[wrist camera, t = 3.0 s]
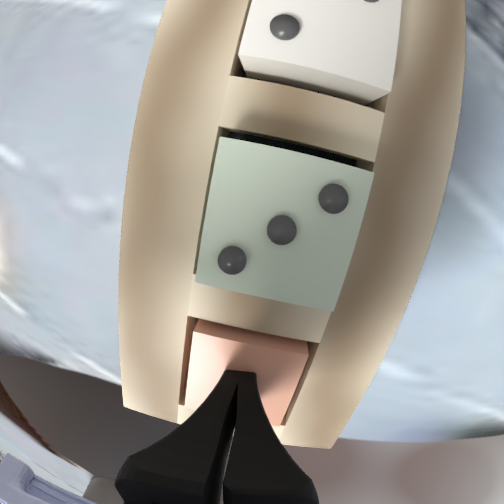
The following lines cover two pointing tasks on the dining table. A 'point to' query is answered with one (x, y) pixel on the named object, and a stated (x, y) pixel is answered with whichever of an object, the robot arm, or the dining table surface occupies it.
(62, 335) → the dining table surface
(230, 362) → the one dot key
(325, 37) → the two dot key
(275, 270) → the three dot key
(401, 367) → the dining table surface
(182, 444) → the robot arm
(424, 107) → the wooden puzzle board
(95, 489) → the coffee mug
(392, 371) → the dining table surface
